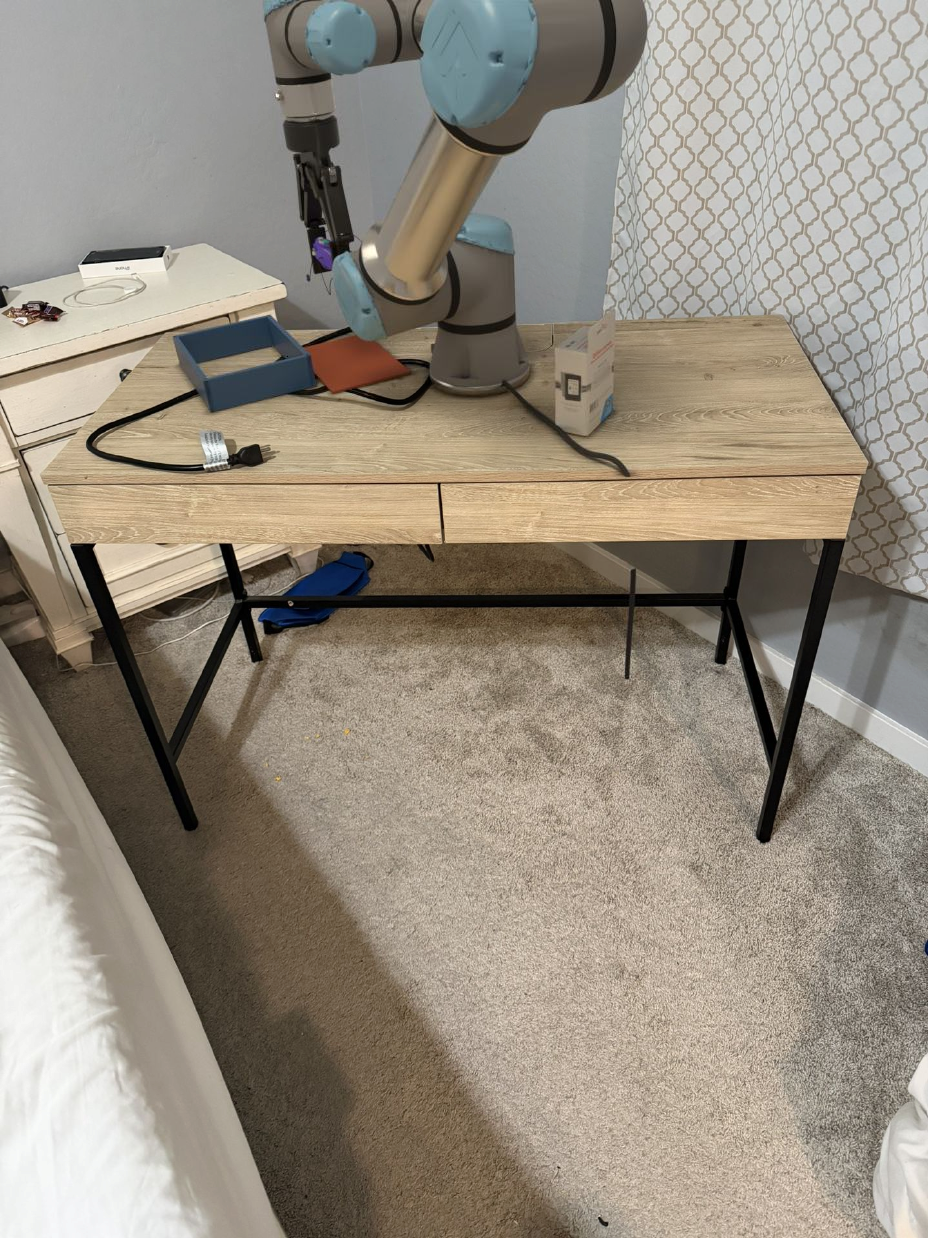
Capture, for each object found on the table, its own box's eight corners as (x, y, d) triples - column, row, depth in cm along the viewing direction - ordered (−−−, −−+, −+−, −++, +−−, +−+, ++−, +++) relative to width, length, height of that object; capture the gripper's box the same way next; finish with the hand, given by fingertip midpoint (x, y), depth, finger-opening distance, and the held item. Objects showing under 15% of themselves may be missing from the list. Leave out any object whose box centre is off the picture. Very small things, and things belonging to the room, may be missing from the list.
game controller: (388, 251, 138) (337, 254, 132) (376, 302, 143) (326, 307, 137) (347, 222, 142) (295, 223, 136) (337, 272, 147) (286, 276, 141)
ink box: (581, 405, 130) (583, 301, 121) (613, 411, 128) (617, 306, 119) (553, 430, 125) (553, 323, 116) (586, 437, 122) (588, 329, 113)
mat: (411, 373, 143) (410, 371, 143) (332, 393, 139) (332, 391, 139) (365, 335, 158) (364, 332, 157) (292, 352, 154) (292, 349, 153)
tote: (316, 386, 142) (310, 355, 139) (210, 412, 137) (202, 380, 134) (276, 343, 158) (270, 314, 154) (180, 365, 152) (172, 335, 149)
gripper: (260, 110, 133) (288, 267, 147) (309, 131, 117) (335, 305, 131) (309, 102, 136) (332, 258, 149) (363, 122, 120) (384, 295, 133)
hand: (333, 280), depth 140 cm, fingers closed on game controller, 10 cm apart
